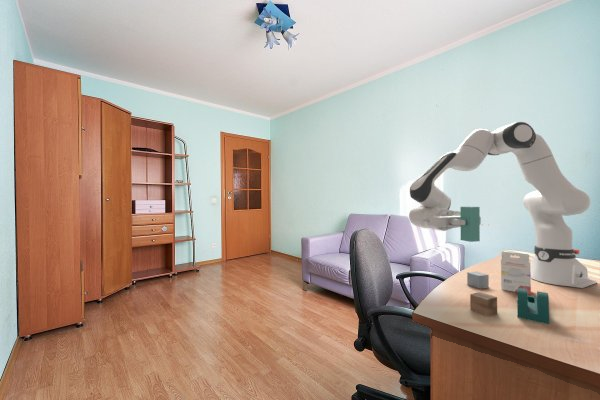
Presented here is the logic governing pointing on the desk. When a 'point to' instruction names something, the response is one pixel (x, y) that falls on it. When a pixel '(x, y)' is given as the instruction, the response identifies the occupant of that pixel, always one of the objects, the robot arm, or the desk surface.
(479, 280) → the slate grey block
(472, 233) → the teal block
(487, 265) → the desk surface
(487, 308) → the walnut block
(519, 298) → the bracket
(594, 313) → the desk surface
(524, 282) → the ink cartridge box
